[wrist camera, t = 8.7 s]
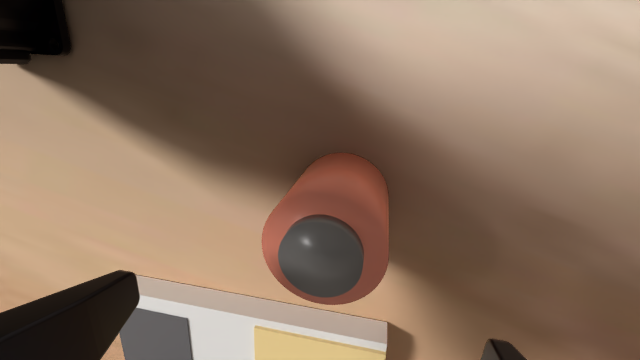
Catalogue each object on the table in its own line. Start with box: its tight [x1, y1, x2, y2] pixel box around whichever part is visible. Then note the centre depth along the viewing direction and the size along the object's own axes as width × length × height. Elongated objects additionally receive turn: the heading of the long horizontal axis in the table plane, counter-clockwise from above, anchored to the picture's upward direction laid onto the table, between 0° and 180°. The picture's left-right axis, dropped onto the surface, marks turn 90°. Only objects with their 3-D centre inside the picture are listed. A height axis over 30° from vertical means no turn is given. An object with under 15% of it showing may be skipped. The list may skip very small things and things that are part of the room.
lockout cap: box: [262, 153, 389, 305], centre depth 13 cm, size 4×4×6 cm
